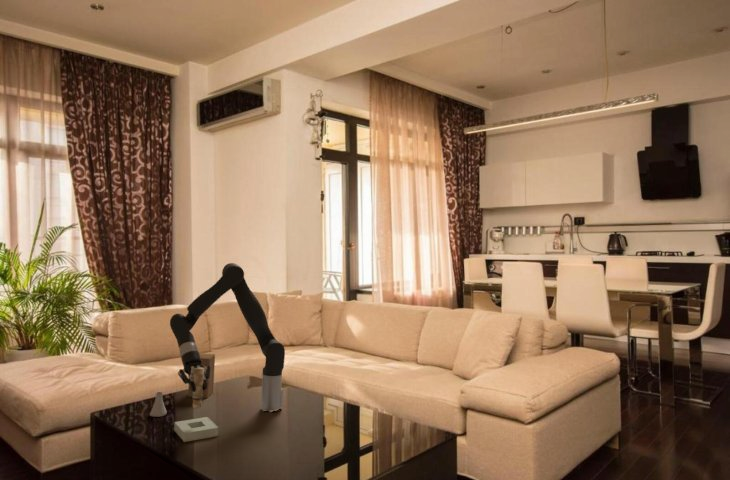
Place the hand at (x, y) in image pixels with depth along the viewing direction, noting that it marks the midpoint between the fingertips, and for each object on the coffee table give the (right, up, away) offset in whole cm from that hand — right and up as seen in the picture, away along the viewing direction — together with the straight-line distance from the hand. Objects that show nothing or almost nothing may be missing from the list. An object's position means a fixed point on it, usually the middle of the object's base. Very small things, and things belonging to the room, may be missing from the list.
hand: (199, 390), depth 226 cm
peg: (-2, -7, +2) cm, 8 cm away
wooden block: (-15, -17, +52) cm, 57 cm away
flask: (-25, -17, +21) cm, 37 cm away
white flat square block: (-2, -19, +2) cm, 19 cm away
